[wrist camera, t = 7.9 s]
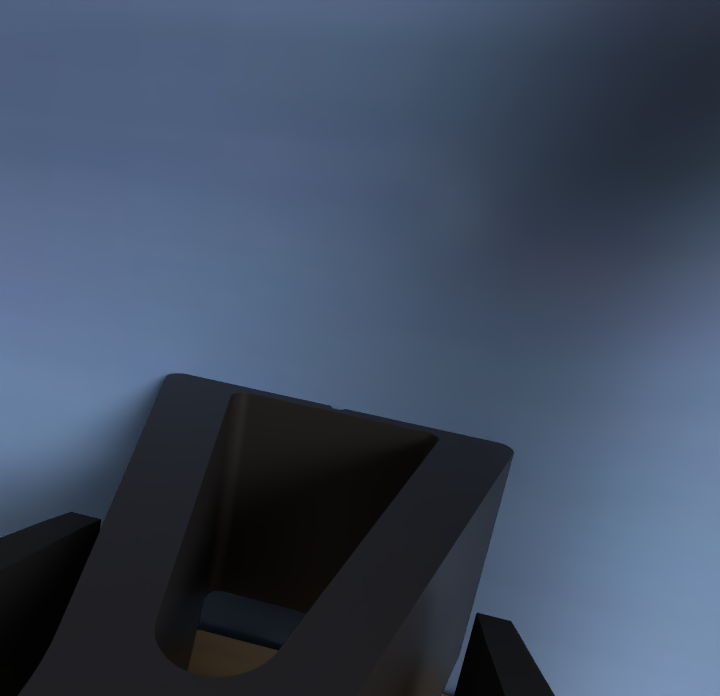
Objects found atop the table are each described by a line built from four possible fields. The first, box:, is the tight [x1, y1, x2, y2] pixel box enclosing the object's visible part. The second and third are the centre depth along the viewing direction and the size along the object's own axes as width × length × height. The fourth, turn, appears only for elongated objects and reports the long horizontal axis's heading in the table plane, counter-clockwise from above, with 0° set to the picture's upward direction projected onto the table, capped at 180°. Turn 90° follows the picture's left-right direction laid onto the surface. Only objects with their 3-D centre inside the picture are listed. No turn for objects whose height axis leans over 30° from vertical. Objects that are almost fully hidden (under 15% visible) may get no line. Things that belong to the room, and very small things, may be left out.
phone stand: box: [18, 374, 514, 696], centre depth 9 cm, size 9×6×12 cm, turn 79°
